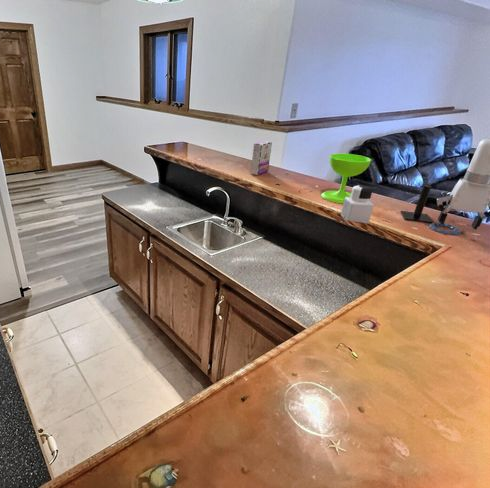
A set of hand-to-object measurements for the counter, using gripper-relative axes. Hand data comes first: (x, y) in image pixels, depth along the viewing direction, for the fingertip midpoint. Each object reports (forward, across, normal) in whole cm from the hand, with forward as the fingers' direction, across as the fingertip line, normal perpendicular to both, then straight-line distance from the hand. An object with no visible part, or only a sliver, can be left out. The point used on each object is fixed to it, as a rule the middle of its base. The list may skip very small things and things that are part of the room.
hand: (456, 225), depth 122 cm
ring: (+2, +3, 0) cm, 4 cm away
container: (+4, +32, +1) cm, 32 cm away
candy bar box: (+5, +76, -52) cm, 92 cm away
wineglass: (+4, +36, -25) cm, 44 cm away
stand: (+3, +10, -9) cm, 14 cm away
